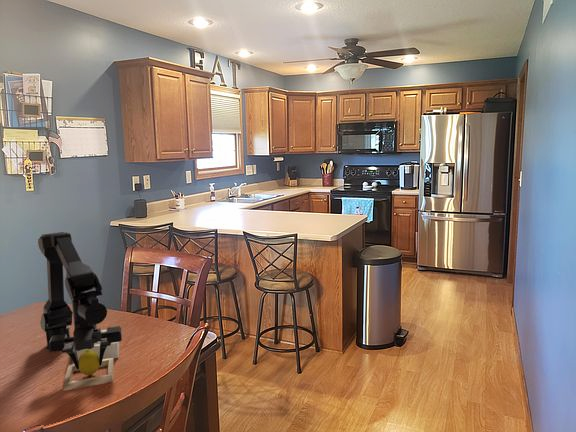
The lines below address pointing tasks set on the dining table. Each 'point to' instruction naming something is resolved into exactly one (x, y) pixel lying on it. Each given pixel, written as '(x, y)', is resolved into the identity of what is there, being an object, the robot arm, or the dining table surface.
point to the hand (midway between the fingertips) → (89, 366)
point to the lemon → (88, 362)
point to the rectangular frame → (89, 381)
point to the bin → (110, 351)
